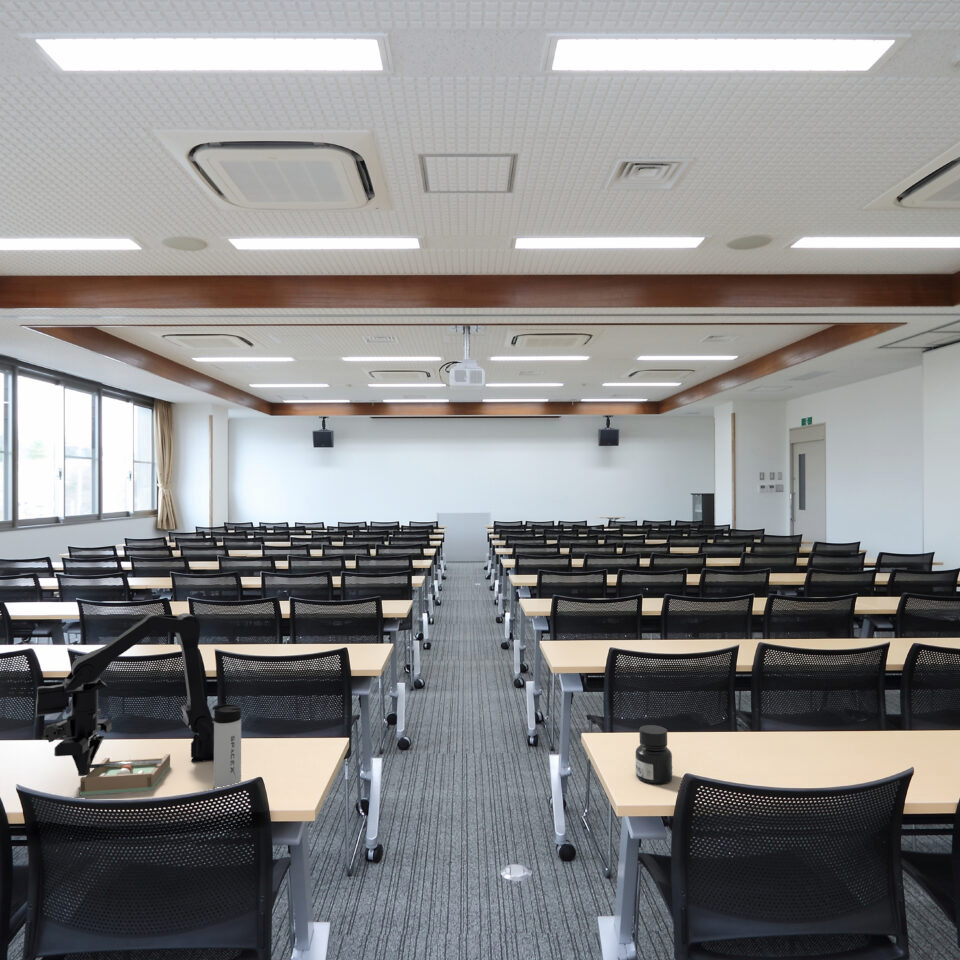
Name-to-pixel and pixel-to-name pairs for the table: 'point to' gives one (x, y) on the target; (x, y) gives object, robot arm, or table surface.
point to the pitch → (124, 777)
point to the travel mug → (227, 745)
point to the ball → (123, 771)
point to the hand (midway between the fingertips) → (84, 771)
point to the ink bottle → (653, 756)
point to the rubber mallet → (123, 765)
